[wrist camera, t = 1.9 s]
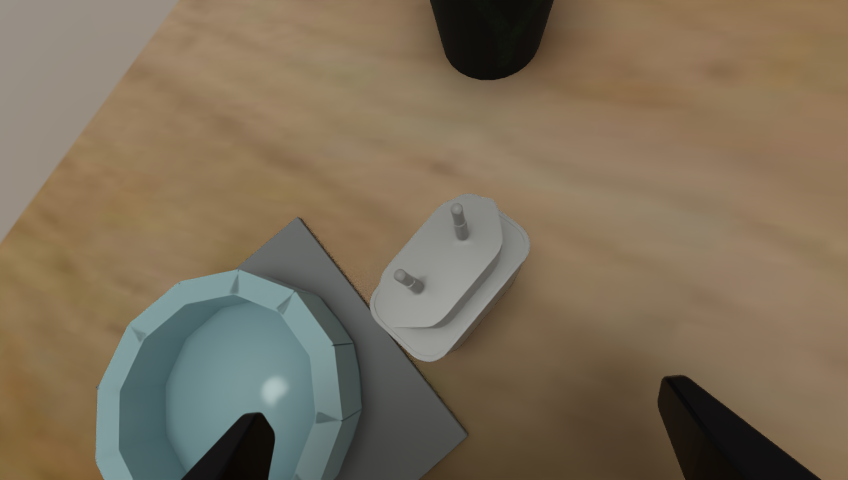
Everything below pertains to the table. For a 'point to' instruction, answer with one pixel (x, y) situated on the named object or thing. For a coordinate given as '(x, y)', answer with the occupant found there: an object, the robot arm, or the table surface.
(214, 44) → the table surface
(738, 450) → the robot arm
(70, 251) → the table surface
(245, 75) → the table surface
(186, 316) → the bowl
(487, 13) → the cup
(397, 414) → the mat
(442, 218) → the power adapter
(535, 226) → the table surface
